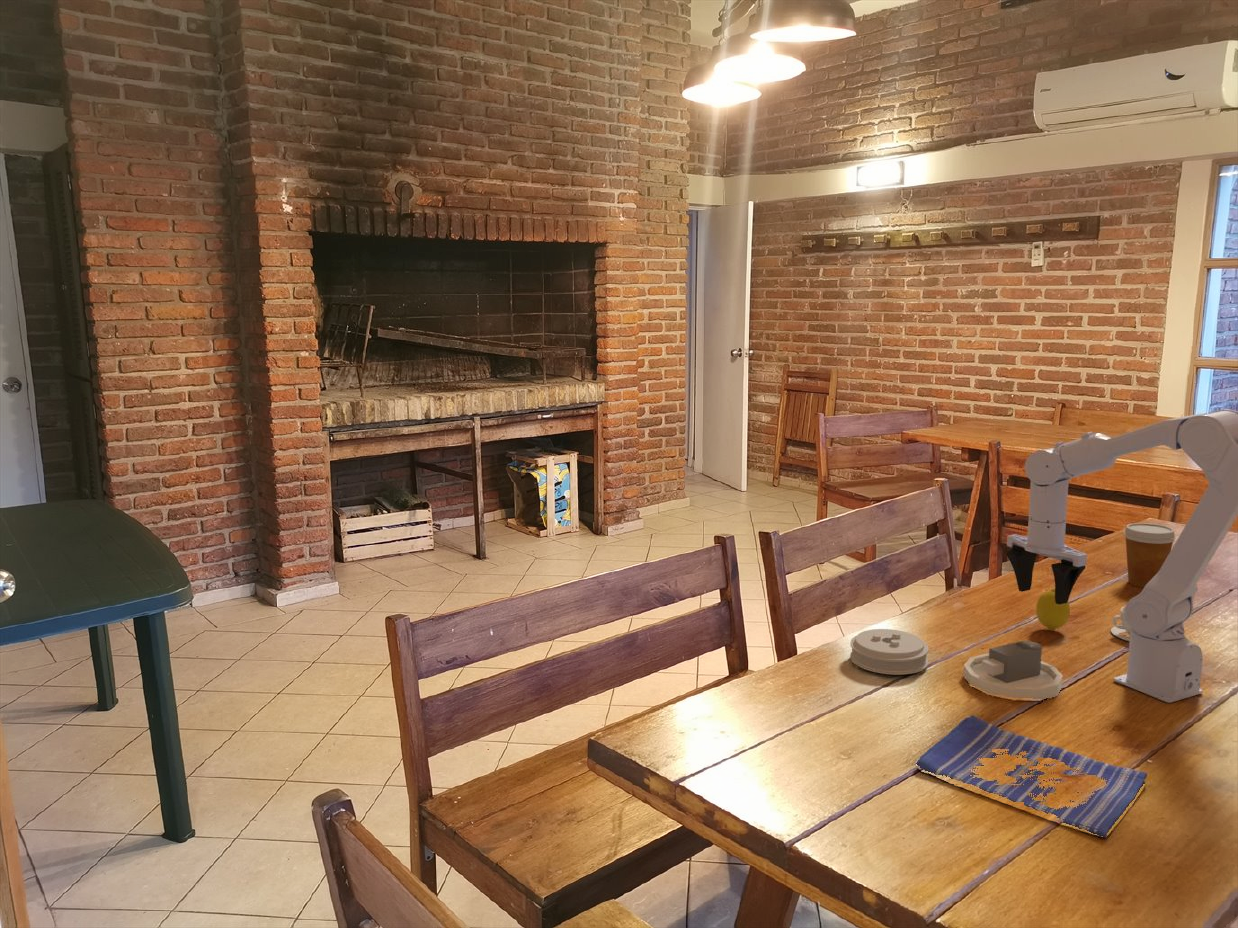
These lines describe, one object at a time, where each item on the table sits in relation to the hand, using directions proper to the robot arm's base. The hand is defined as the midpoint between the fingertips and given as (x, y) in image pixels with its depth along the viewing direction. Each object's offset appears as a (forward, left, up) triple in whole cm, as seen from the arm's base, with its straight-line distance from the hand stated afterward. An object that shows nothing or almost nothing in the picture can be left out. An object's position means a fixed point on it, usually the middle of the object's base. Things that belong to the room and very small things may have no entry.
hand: (1042, 596), depth 156 cm
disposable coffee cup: (+16, -49, -10) cm, 53 cm away
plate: (-7, +14, -10) cm, 19 cm away
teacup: (-3, -22, -10) cm, 24 cm away
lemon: (+6, -10, -10) cm, 15 cm away
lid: (+8, +26, -10) cm, 29 cm away
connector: (-7, +14, -9) cm, 18 cm away
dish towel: (-29, +35, -11) cm, 47 cm away
